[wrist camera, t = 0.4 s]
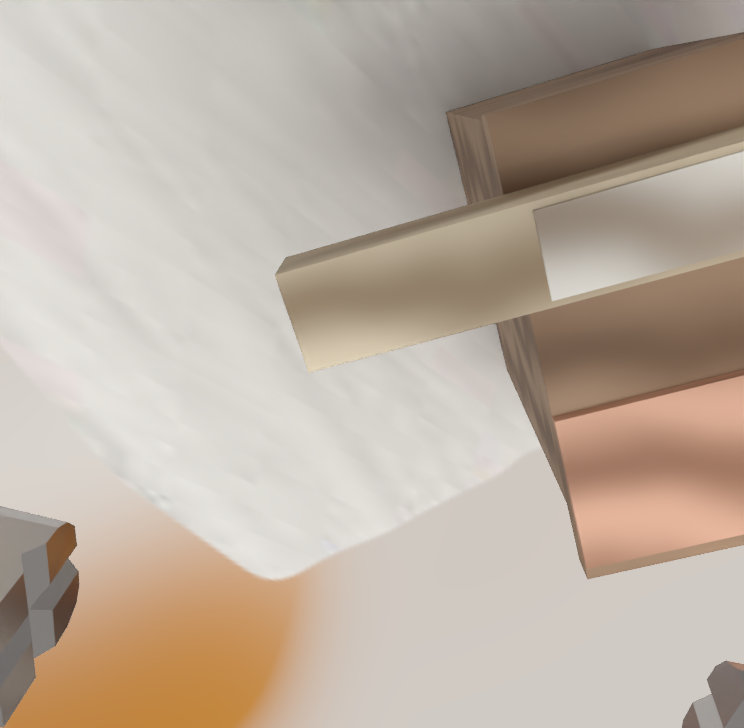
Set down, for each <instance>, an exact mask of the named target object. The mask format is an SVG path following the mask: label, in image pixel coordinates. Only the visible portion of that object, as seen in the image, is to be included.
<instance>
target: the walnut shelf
mask: <svg viewBox="0 0 744 728" xmlns="http://www.w3.org/2000/svg"><path fill="white" fill-rule="evenodd" d="M446 115H447V119H448V123H449V128H450V132H451V136H452V140H453V144H454V149H455V153H456V157H457V161H458V165H459V170H460V174H461V178H462V182H463V186H464V191H465V195H466V199H467V203H468V205H470V204H473V203H477V202H480V201H484V200H487V199H491V198H494V197H498V196H501V195H505V194H508V193H512V192H515V191H519V190H522V189H525V188H529V187H532V186H536V185H539V184H543V183H546V182H550V181H553V180H557V179H560V178H564V177H567V176H571V175H574V174H577V173H581V172H584V171H588V170H591V169H595V168H598V167H602V166H605V165H609V164H612V163H616V162H619V161H623V160H626V159H630V158H633V157H636V156H640V155H643V154H647V153H650V152H654V151H657V150H661V149H664V148H668V147H671V146H675V145H678V144H682V143H685V142H688V141H692V140H695V139H699V138H702V137H706V136H709V135H713V134H716V133H720V132H723V131H727V130H730V129H734V128H737V127H741V126H744V32H743V33H738V34H732V35H727V36H721V37H716V38H711V39H705V40H700V41H694V42H689V43H683V44H678V45H672V46H667V47H662V48H656V49H652V50H648V51H645V52H642V53H639V54H635V55H632V56H629V57H625V58H622V59H619V60H616V61H612V62H609V63H606V64H603V65H599V66H596V67H593V68H589V69H586V70H583V71H580V72H576V73H573V74H570V75H567V76H563V77H560V78H557V79H553V80H550V81H547V82H544V83H540V84H537V85H534V86H530V87H527V88H524V89H521V90H517V91H514V92H511V93H508V94H504V95H501V96H498V97H494V98H491V99H488V100H485V101H481V102H478V103H475V104H472V105H468V106H465V107H462V108H458V109H455V110H452V111H449V112H446ZM496 325H497V329H498V334H499V338H500V342H501V346H502V350H503V355H504V359H505V363H506V367H507V371H508V373H509V375H510V378H511V380H512V382H513V384H514V386H515V389H516V391H517V393H518V395H519V398H520V400H521V402H522V404H523V406H524V409H525V411H526V413H527V415H528V418H529V420H530V422H531V424H532V427H533V429H534V431H535V433H536V435H537V438H538V440H539V442H540V444H541V447H542V449H543V451H544V453H545V455H546V458H547V460H548V462H549V464H550V467H551V469H552V471H553V473H554V476H555V478H556V480H557V482H558V484H559V487H560V489H561V491H562V493H563V496H564V498H565V500H566V502H567V505H568V510H569V514H570V519H571V523H572V527H573V532H574V536H575V541H576V545H577V550H578V555H579V559H580V562H581V564H582V567H583V569H584V571H585V574H586V576H587V578H588V579H590V578H595V577H600V576H604V575H609V574H613V573H618V572H622V571H627V570H632V569H636V568H641V567H645V566H650V565H654V564H659V563H663V562H668V561H672V560H677V559H681V558H686V557H690V556H695V555H700V554H704V553H709V552H714V551H718V550H723V549H727V548H732V547H736V546H741V545H744V257H741V258H738V259H734V260H730V261H726V262H723V263H719V264H715V265H711V266H708V267H704V268H700V269H696V270H693V271H689V272H685V273H681V274H678V275H674V276H670V277H666V278H663V279H659V280H655V281H652V282H648V283H644V284H640V285H637V286H633V287H629V288H625V289H622V290H618V291H614V292H610V293H607V294H603V295H599V296H595V297H592V298H588V299H584V300H580V301H577V302H573V303H569V304H565V305H562V306H558V307H554V308H550V309H547V310H543V311H539V312H535V313H532V314H528V315H524V316H520V317H517V318H513V319H509V320H505V321H502V322H498V323H496Z"/></svg>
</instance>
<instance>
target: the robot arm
mask: <svg viewBox="0 0 744 728" xmlns="http://www.w3.org/2000/svg"><path fill="white" fill-rule="evenodd" d="M76 546H77V542H76V534H75V526H74V525H72V524H70V523H68V522H64V521H60V520H56V519H52V518H47V517H43V516H39V515H35V514H31V513H27V512H22V511H18V510H14V509H10V508H6V507H2V506H0V727H4V726H5V724H6V723H7V721H8V720H9V718H10V717H11V715H12V714H13V712H14V710H15V709H16V707H17V706H18V704H19V703H20V701H21V699H22V698H23V696H24V695H25V693H26V692H27V690H28V688H29V687H30V685H31V684H32V682H33V681H34V679H35V677H36V676H35V667H34V658H35V657H37V656H39V655H40V654H42V653H44V652H46V651H47V650H49V649H51V648H53V647H54V646H56V644H57V642H58V641H59V639H60V637H61V636H62V634H63V632H64V631H65V629H66V628H67V625H68V623H69V620H70V618H71V615H72V613H73V610H74V608H75V605H76V602H77V596H78V589H79V572H78V570H77V569H76V568H75V566H74V565H73V564H72V563H71V561H70V560H69V559H68V557H69V556H70V555H71V553H72V552H73V550H74V549H75V547H76ZM707 681H708V684H709V687H710V690H711V693H712V694H710V695H708V696H706V697H704V698H702V699H699V700H697V701H695V702H693V703H692V705H691V707H690V709H689V711H688V712H687V714H686V716H685V718H684V720H683V725H682V728H744V664H739V663H734V662H729V661H724V662H722V663H721V664H719V665H717V666H715V668H714V669H713V671H712V673H711V674H710V676H709V677H708V679H707Z"/></svg>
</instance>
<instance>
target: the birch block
mask: <svg viewBox="0 0 744 728" xmlns="http://www.w3.org/2000/svg"><path fill="white" fill-rule="evenodd" d="M741 257H744V126H741V127H737V128H734V129H730V130H727V131H723V132H720V133H716V134H713V135H709V136H706V137H702V138H699V139H695V140H692V141H688V142H685V143H682V144H678V145H675V146H671V147H668V148H664V149H661V150H657V151H654V152H650V153H647V154H643V155H640V156H636V157H633V158H630V159H626V160H623V161H619V162H616V163H612V164H609V165H605V166H602V167H598V168H595V169H591V170H588V171H584V172H581V173H577V174H574V175H571V176H567V177H564V178H560V179H557V180H553V181H550V182H546V183H543V184H539V185H536V186H532V187H529V188H525V189H522V190H519V191H515V192H512V193H508V194H505V195H501V196H498V197H494V198H491V199H487V200H484V201H480V202H477V203H473V204H470V205H466V206H463V207H460V208H456V209H453V210H449V211H446V212H442V213H439V214H435V215H432V216H428V217H425V218H421V219H418V220H414V221H411V222H408V223H404V224H401V225H397V226H394V227H390V228H387V229H383V230H380V231H376V232H373V233H369V234H366V235H362V236H359V237H356V238H352V239H349V240H345V241H342V242H338V243H335V244H331V245H328V246H324V247H321V248H317V249H314V250H310V251H307V252H303V253H300V254H297V255H293V256H290V257H286V258H285V260H284V261H283V263H282V265H281V266H280V268H279V269H278V271H277V273H276V274H275V277H276V280H277V283H278V286H279V289H280V292H281V294H282V297H283V300H284V303H285V306H286V309H287V312H288V315H289V317H290V320H291V323H292V326H293V329H294V332H295V335H296V338H297V340H298V343H299V346H300V349H301V352H302V355H303V358H304V361H305V364H306V366H307V369H308V372H309V373H310V372H314V371H318V370H322V369H325V368H329V367H333V366H337V365H340V364H344V363H348V362H352V361H355V360H359V359H363V358H367V357H370V356H374V355H378V354H382V353H385V352H389V351H393V350H397V349H400V348H404V347H408V346H412V345H415V344H419V343H423V342H427V341H430V340H434V339H438V338H442V337H445V336H449V335H453V334H457V333H460V332H464V331H468V330H472V329H475V328H479V327H483V326H487V325H490V324H494V323H498V322H502V321H505V320H509V319H513V318H517V317H520V316H524V315H528V314H532V313H535V312H539V311H543V310H547V309H550V308H554V307H558V306H562V305H565V304H569V303H573V302H577V301H580V300H584V299H588V298H592V297H595V296H599V295H603V294H607V293H610V292H614V291H618V290H622V289H625V288H629V287H633V286H637V285H640V284H644V283H648V282H652V281H655V280H659V279H663V278H666V277H670V276H674V275H678V274H681V273H685V272H689V271H693V270H696V269H700V268H704V267H708V266H711V265H715V264H719V263H723V262H726V261H730V260H734V259H738V258H741Z"/></svg>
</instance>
